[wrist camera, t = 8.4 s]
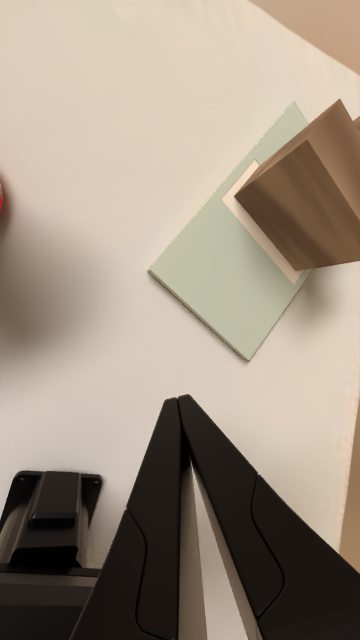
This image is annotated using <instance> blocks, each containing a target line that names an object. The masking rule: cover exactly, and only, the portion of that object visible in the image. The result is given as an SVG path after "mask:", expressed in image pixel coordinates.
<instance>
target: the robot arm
mask: <svg viewBox="0 0 360 640" xmlns="http://www.w3.org/2000/svg"><path fill="white" fill-rule="evenodd" d="M190 459H191V460H190ZM191 463H192V465H191ZM192 467H193V470H194V474H195V477H196V480H197V483H198V486H199V489H200V492H201V495H202V498H203V501H204V505H205V508H206V511H207V514H208V517H209V520H210V523H211V526H212V529H213V532H214V535H215V538H216V542H217V545H218V548H219V551H220V554H221V557H222V560H223V563H224V566H225V569H226V572H227V575H228V579H229V582H230V585H231V588H232V591H233V594H234V597H235V600H236V603H237V606H238V609H239V612H240V616H241V619H242V622H243V625H244V628H245V631H246V634H247V637H248V640H360V573H358V572H357V571H356V570H355V569H354V568H353V567H352V566H351V565H350V564H349V563H348V562H347V561H346V560H345V559H343V558H342V557H341V556H340V555H339V554H338V553H337V552H336V551H335V550H334V549H333V548H332V547H331V546H330V545H329V544H327V543H326V542H325V541H324V540H323V539H322V538H321V537H320V536H319V535H318V534H317V533H316V532H315V531H314V530H313V529H311V528H310V527H309V526H308V525H307V524H306V523H305V522H304V521H303V520H302V519H301V518H300V517H299V516H298V515H297V514H296V513H295V512H294V511H293V510H292V509H291V508H290V507H289V506H288V505H287V504H286V503H285V502H284V501H283V500H282V499H281V497H280V496H279V495H278V494H277V493H276V492H275V491H274V490H273V489H272V488H271V487H270V485H269V484H268V483H267V482H266V481H265V480H264V479H263V477H262V476H261V475H258V472H257V471H256V470H255V469H254V467H253V466H252V465H251V464H250V463H249V462H248V461H247V459H246V458H245V457H244V456H243V455H242V454H241V453H240V451H239V450H238V449H237V448H236V447H235V446H234V445H233V443H232V442H231V441H230V440H229V439H228V438H227V437H226V435H225V434H224V433H223V432H222V431H221V430H220V429H219V427H218V426H217V425H216V424H215V423H214V422H213V421H212V419H211V418H210V417H209V416H208V415H207V414H206V413H205V411H204V410H203V409H202V408H201V407H200V406H199V405H198V403H197V402H196V401H195V400H194V399H193V398H192V397H191V396H190V395H189V394H186V395H182V396H179V397H178V399H177V398H176V397H174V398H170V399H166V400H165V401H164V404H163V406H162V409H161V412H160V415H159V417H158V420H157V423H156V426H155V428H154V431H153V434H152V437H151V439H150V442H149V445H148V448H147V450H146V453H145V456H144V459H143V461H142V464H141V467H140V470H139V472H138V475H137V478H136V481H135V483H134V486H133V489H132V492H131V494H130V497H129V500H128V503H127V505H126V508H127V509H126V510H125V511H124V513H123V516H122V519H121V522H120V524H119V527H118V530H117V532H116V535H115V537H114V540H113V542H112V545H111V548H110V550H109V553H108V555H107V558H106V560H105V562H104V564H103V567H102V569H92V568H87V538H88V529H89V526H90V522H91V519H92V515H93V512H94V509H95V505H96V502H97V499H98V495H99V492H100V489H101V485H102V477H101V476H100V475H94V474H79V473H73V472H55V471H47V472H38V471H20V472H18V473H17V474H16V475H15V477H14V479H13V481H12V484H11V487H10V491H9V494H8V497H7V500H6V503H5V506H4V510H3V513H2V516H1V519H0V640H207V630H206V619H205V608H204V596H203V585H202V574H201V563H200V552H199V540H198V529H197V518H196V507H195V496H194V484H193V474H192ZM21 477H22V478H24V480H21V481H20V480H19V479H18V478H21ZM94 481H98V483H95V484H94V483H93V482H94Z"/></svg>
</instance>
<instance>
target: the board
mask: <svg viewBox="0 0 360 640" xmlns="http://www.w3.org/2000/svg"><path fill="white" fill-rule="evenodd" d="M308 125H309V124H308V122H307V120H306V119H305V117H304V116H303V114H302V112H301V111H300V109H299V108H298V106H297V104H296V103H295V101H293V102H292V103H291V104H290V105H289V106H288V107H287V108H286V110H285V111H284V112H283V113H282V114H281V115H280V117H279V118H278V119H277V120H276V121H275V122H274V124H273V125H272V126H271V127H270V128H269V129H268V131H267V132H266V133H265V134H264V135H263V136H262V138H261V139H260V140H259V141H258V142H257V143H256V145H255V146H254V147H253V148H252V149H251V150H250V152H249V153H248V154H247V155H246V156H245V157H244V159H243V160H242V161H241V162H240V163H239V164H238V166H237V167H236V168H235V169H234V170H233V171H232V173H231V174H230V175H229V176H228V177H227V178H226V180H225V181H224V182H223V183H222V184H221V185H220V186H219V188H218V189H217V190H216V191H215V192H214V193H213V195H212V196H211V197H210V198H209V199H208V200H207V202H206V203H205V204H204V205H203V206H202V207H201V209H200V210H199V211H198V212H197V213H196V214H195V216H194V217H193V218H192V219H191V220H190V221H189V223H188V224H187V225H186V226H185V227H184V228H183V230H182V231H181V232H180V233H179V234H178V235H177V237H176V238H175V239H174V240H173V241H172V242H171V244H170V245H169V246H168V247H167V248H166V249H165V251H164V252H163V253H162V254H161V255H160V256H159V258H158V259H157V260H156V261H155V262H154V263H153V265H152V266H151V267H150V268H149V269H148V270H147V271H148V272H149V273H150V274H151V275H152V276H154V277H155V278H156V279H157V280H158V281H159V282H160V283H161V284H162V285H163V286H164V287H166V288H167V289H168V290H169V291H170V292H171V293H172V294H173V295H174V296H175V297H177V298H178V299H179V300H180V301H181V302H182V303H183V304H184V305H185V306H186V307H187V308H189V309H190V310H191V311H192V312H193V313H194V314H195V315H196V316H197V317H198V318H199V319H201V320H202V321H203V322H204V323H205V324H206V325H207V326H208V327H209V328H210V329H211V330H213V331H214V332H215V333H216V334H217V335H218V336H219V337H220V338H221V339H222V340H224V341H225V342H226V343H227V344H228V345H229V346H230V347H231V348H232V349H233V350H234V351H236V352H237V353H238V354H239V355H240V356H241V357H242V358H243V359H246V360H250V358H251V357H252V355H253V354H254V353H255V351H256V350H257V348H258V347H259V345H260V344H261V343H262V341H263V340H264V338H265V337H266V335H267V334H268V333H269V331H270V330H271V328H272V327H273V325H274V324H275V323H276V321H277V320H278V318H279V317H280V315H281V314H282V313H283V311H284V310H285V308H286V307H287V305H288V304H289V303H290V301H291V300H292V298H293V297H294V295H295V294H296V292H297V291H298V290H299V288H300V287H301V285H302V284H303V282H304V281H305V280H306V278H307V277H308V275H309V274H310V272H311V271H312V270H313V269H307V270H301V271H295V270H294V269H293V267H292V266H291V265H290V264H289V263H288V261H287V260H286V259H285V258H284V256H283V255H282V254H281V253H280V252H279V250H278V249H277V248H276V247H275V246H274V244H273V243H272V242H271V241H270V239H269V238H268V237H267V236H266V235H265V233H264V232H263V231H262V230H261V229H260V227H259V226H258V225H257V224H256V222H255V221H254V220H253V219H252V218H251V216H250V215H249V214H248V213H247V212H246V210H245V209H244V208H243V207H242V205H241V204H240V203H239V202H238V201H237V199H236V198H235V197H234V195H235V194H236V193H237V192H238V191H239V189H240V188H241V187H242V186H243V185H244V183H245V182H246V181H247V180H248V179H249V177H250V176H251V175H252V174H253V173H254V171H255V170H256V169H257V168H258V167H259V166H260V165H261V164H262V163H264V162H265V161H266V160H267V159H268V158H270V157H271V156H272V155H273V154H274V153H275V152H277V151H278V150H279V149H280V148H281V147H283V146H284V145H285V144H286V143H287V142H289V141H290V140H291V139H292V138H293V137H295V136H296V135H297V134H298V133H299V132H301V131H302V130H303V129H304V128H305V127H306V126H308Z"/></svg>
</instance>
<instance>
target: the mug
mask: <svg viewBox="0 0 360 640" xmlns="http://www.w3.org/2000/svg"><path fill="white" fill-rule="evenodd" d="M2 202H3V192H2V185H1V181H0V212H1V208H2Z"/></svg>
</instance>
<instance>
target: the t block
mask: <svg viewBox="0 0 360 640" xmlns="http://www.w3.org/2000/svg"><path fill="white" fill-rule="evenodd" d="M234 197H235V198H236V199H237V201H238V202H239V203H240V204H241V205H242V207H243V208H244V209H245V210H246V212H247V213H248V214H249V215H250V216H251V218H252V219H253V220H254V221H255V222H256V224H257V225H258V226H259V227H260V229H261V230H262V231H263V232H264V233H265V235H266V236H267V237H268V238H269V239H270V241H271V242H272V243H273V244H274V246H275V247H276V248H277V249H278V250H279V252H280V253H281V254H282V255H283V256H284V258H285V259H286V260H287V261H288V263H289V264H290V265H291V266H292V267H293V269H294V270H295V271H301V270H307V269H313V268H319V267H325V266H331V265H337V264H343V263H349V262H355V261H360V116H359V117H358V118H356V119H355V120H354V121H352V119H351V117H350V115H349V114H348V112H347V110H346V108H345V107H344V105H343V103H342V101H341V99H339V100H337V101H336V102H335V103H334V104H333V105H331V106H330V107H329V108H328V109H327V110H326V111H324V112H323V113H322V114H321V115H320V116H318V117H317V118H316V119H315V120H314V121H312V122H311V123H310V124H309V125H308V126H306V127H305V128H304V129H303V130H302V131H301V132H299V133H298V134H297V135H296V136H295V137H293V138H292V139H291V140H290V141H289V142H287V143H286V144H285V145H284V146H283V147H281V148H280V149H279V150H278V151H277V152H275V153H274V154H273V155H272V156H271V157H270V158H268V159H267V160H266V161H265V162H264V163H262V164H261V165H260V166H259V167H258V168H257V169H256V170H255V171H254V173H253V174H252V175H251V176H250V177H249V179H248V180H247V181H246V182H245V183H244V185H243V186H242V187H241V188H240V189H239V191H238V192H237V193H236V194H235V195H234Z"/></svg>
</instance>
